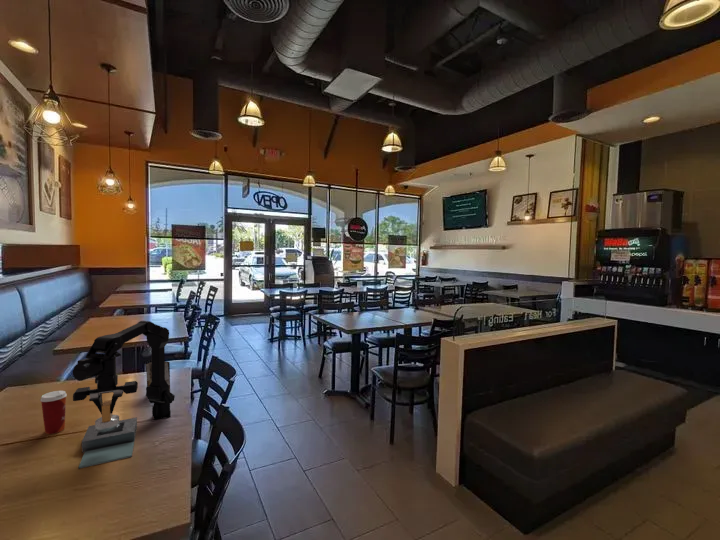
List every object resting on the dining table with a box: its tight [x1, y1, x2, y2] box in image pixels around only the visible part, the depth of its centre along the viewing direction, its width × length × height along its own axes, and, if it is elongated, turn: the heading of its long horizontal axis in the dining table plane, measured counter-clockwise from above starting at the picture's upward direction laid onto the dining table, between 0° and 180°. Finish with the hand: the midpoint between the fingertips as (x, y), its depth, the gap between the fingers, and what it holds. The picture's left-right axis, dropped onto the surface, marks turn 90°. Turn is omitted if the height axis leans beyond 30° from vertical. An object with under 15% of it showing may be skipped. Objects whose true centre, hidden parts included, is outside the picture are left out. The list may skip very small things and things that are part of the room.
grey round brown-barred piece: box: [94, 399, 120, 432], centre depth 130 cm, size 7×7×9 cm
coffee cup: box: [39, 390, 68, 435], centre depth 144 cm, size 8×8×15 cm
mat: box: [78, 441, 135, 469], centre depth 127 cm, size 15×10×1 cm, turn 118°
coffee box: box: [145, 360, 171, 392], centre depth 181 cm, size 9×6×16 cm
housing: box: [81, 417, 138, 454], centre depth 138 cm, size 16×13×4 cm
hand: (107, 413), depth 130 cm, fingers closed on grey round brown-barred piece, 2 cm apart
